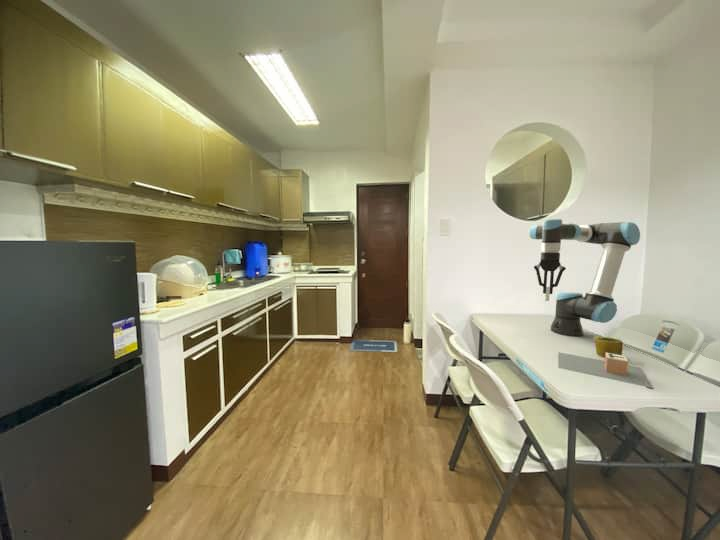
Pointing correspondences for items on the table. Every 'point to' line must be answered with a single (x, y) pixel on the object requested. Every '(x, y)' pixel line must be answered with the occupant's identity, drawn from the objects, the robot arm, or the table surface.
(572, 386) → the table surface
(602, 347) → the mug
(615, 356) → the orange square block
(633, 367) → the mat
